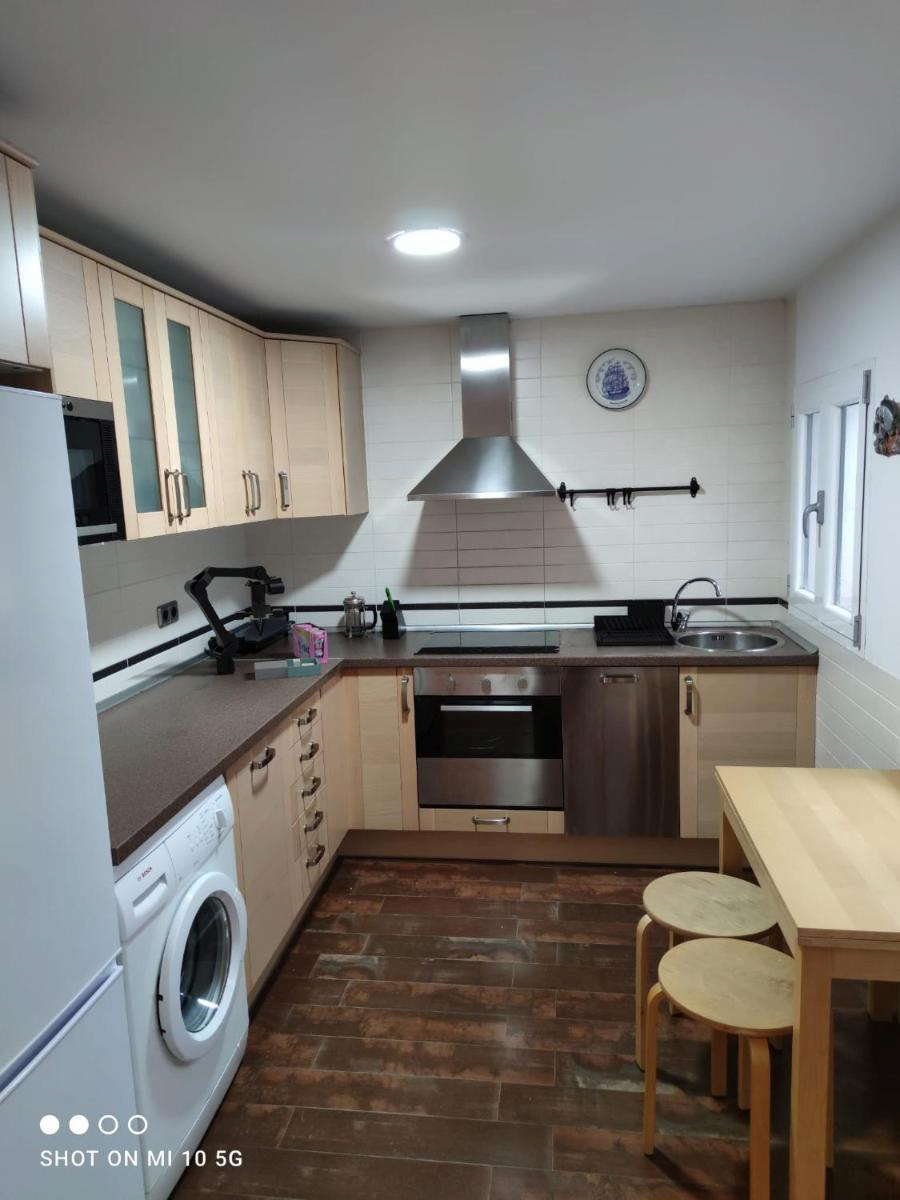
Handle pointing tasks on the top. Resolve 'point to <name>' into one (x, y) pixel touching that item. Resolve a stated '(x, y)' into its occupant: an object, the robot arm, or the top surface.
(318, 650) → the gum box
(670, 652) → the top surface
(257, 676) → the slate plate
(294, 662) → the tile
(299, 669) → the tray
